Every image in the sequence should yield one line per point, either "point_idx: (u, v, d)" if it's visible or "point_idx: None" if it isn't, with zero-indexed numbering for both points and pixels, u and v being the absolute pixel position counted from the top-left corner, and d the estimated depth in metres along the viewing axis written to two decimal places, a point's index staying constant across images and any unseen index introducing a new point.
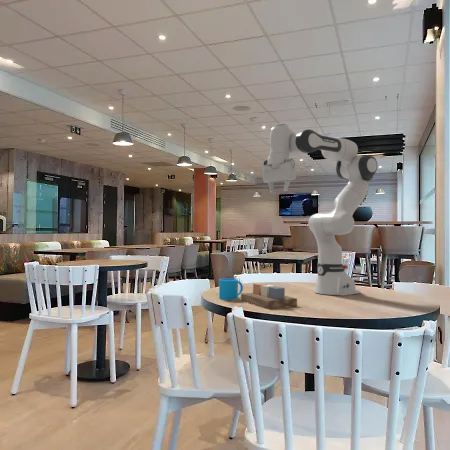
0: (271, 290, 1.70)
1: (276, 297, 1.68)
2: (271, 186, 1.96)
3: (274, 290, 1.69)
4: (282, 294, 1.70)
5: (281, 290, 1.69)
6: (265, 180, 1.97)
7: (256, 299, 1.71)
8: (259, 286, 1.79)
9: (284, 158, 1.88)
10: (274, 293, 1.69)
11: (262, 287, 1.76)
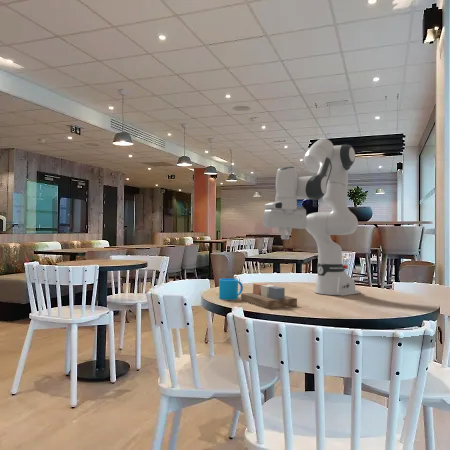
0: (271, 290, 1.70)
1: (276, 297, 1.68)
2: None
3: (274, 290, 1.69)
4: (282, 294, 1.70)
5: (281, 290, 1.69)
6: (272, 225, 1.71)
7: (256, 299, 1.71)
8: (259, 286, 1.79)
9: None
10: (274, 293, 1.69)
11: (262, 287, 1.76)
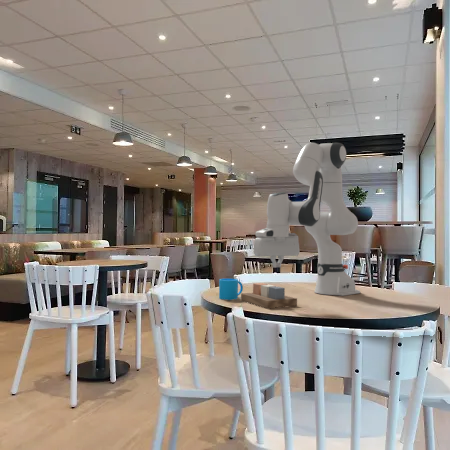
0: (271, 290, 1.70)
1: (276, 297, 1.68)
2: None
3: (274, 290, 1.69)
4: (282, 294, 1.70)
5: (281, 290, 1.69)
6: (263, 253, 1.66)
7: (256, 299, 1.71)
8: (259, 286, 1.79)
9: None
10: (274, 293, 1.69)
11: (262, 287, 1.76)
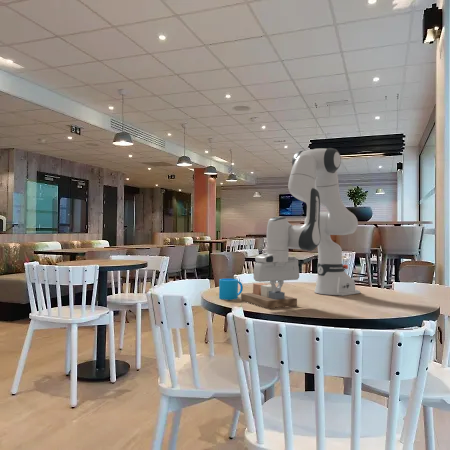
0: (271, 294, 1.70)
1: None
2: None
3: (274, 294, 1.69)
4: (282, 298, 1.70)
5: (281, 295, 1.69)
6: (263, 279, 1.66)
7: (256, 299, 1.71)
8: (259, 286, 1.79)
9: None
10: (274, 298, 1.69)
11: (262, 287, 1.76)
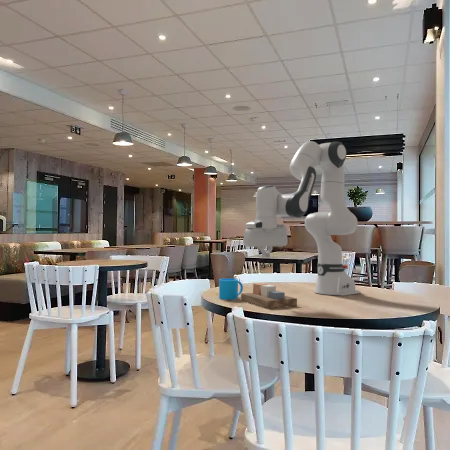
0: (271, 294, 1.70)
1: None
2: None
3: (274, 294, 1.69)
4: (282, 298, 1.70)
5: (281, 295, 1.69)
6: (253, 244, 1.73)
7: (256, 299, 1.71)
8: (259, 286, 1.79)
9: None
10: (274, 298, 1.69)
11: (262, 287, 1.76)
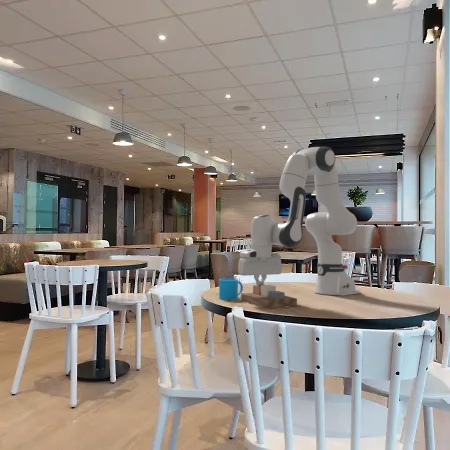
0: (271, 294, 1.70)
1: None
2: None
3: (274, 294, 1.69)
4: (282, 298, 1.70)
5: (281, 295, 1.69)
6: (247, 273, 1.76)
7: (256, 299, 1.71)
8: (259, 288, 1.79)
9: None
10: (274, 298, 1.69)
11: (262, 287, 1.76)
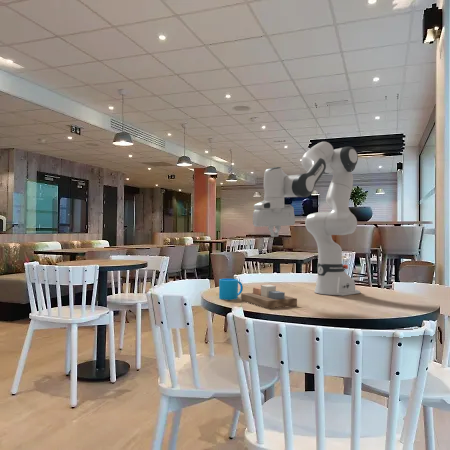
0: (271, 294, 1.70)
1: None
2: None
3: (274, 294, 1.69)
4: (282, 298, 1.70)
5: (281, 295, 1.69)
6: (261, 224, 1.80)
7: (256, 299, 1.71)
8: (259, 290, 1.79)
9: None
10: (274, 298, 1.69)
11: (262, 287, 1.76)
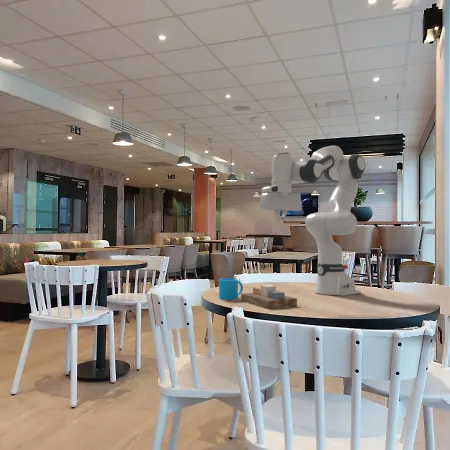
0: (271, 294, 1.70)
1: None
2: None
3: (274, 294, 1.69)
4: (282, 298, 1.70)
5: (281, 295, 1.69)
6: (268, 207, 1.83)
7: (256, 299, 1.71)
8: (259, 290, 1.79)
9: None
10: (274, 298, 1.69)
11: (262, 287, 1.76)
